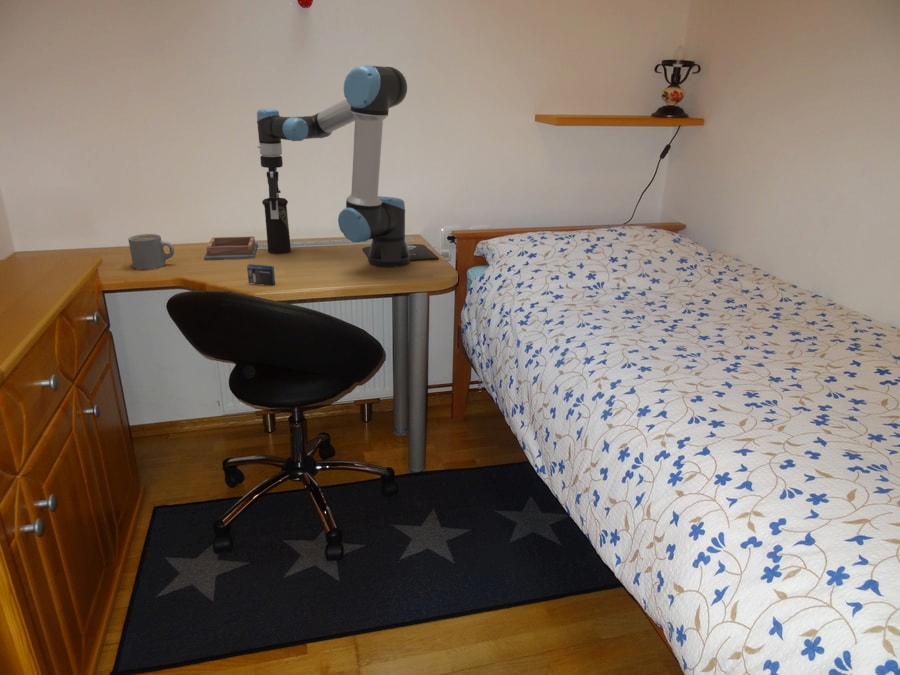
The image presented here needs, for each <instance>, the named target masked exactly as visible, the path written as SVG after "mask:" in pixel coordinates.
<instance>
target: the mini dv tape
mask: <svg viewBox="0 0 900 675" xmlns="http://www.w3.org/2000/svg"><path fill="white" fill-rule="evenodd" d="M246 268H247V275H248V276H247V279H248V284H249V283H255V284H254V285H260V284H264V285H263V286H275V285H276V277H275V266H274V265H267V264H266V265H265V264H263V265H262V264H251V263H250V264H247V266H246Z"/></svg>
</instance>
